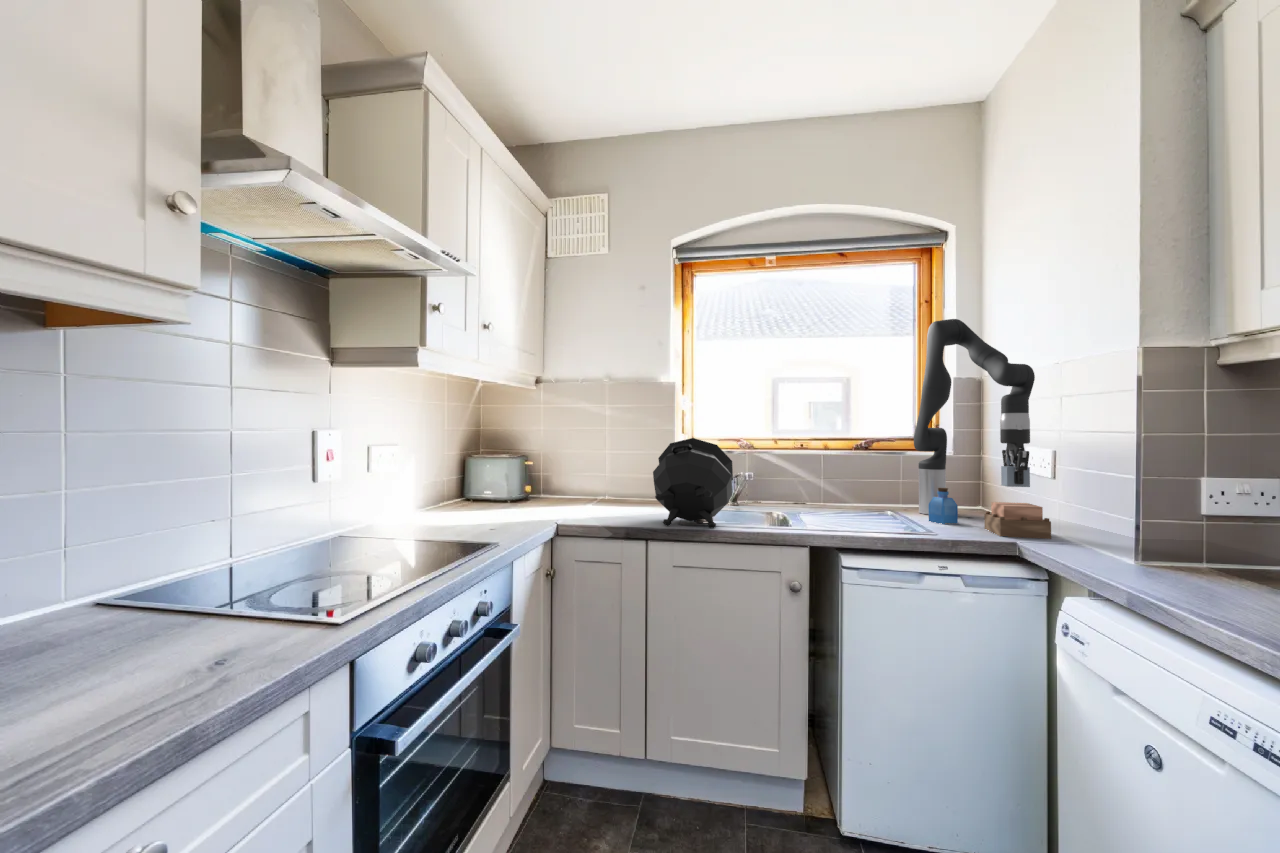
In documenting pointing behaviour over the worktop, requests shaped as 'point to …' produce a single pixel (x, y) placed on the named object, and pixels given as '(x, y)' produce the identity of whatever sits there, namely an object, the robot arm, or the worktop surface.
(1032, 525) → the brown studded stepped block
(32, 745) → the worktop surface
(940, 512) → the perfume bottle
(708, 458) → the cauldron
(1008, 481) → the grey brick
